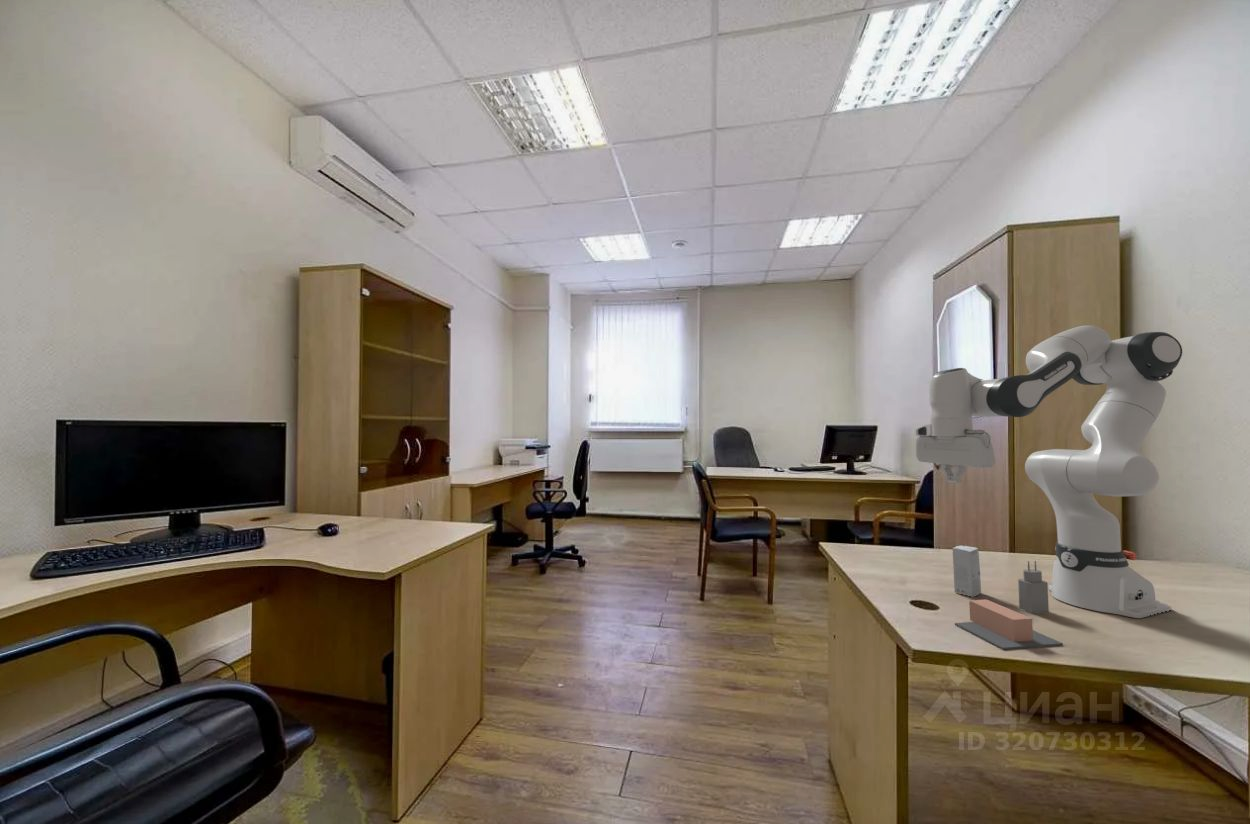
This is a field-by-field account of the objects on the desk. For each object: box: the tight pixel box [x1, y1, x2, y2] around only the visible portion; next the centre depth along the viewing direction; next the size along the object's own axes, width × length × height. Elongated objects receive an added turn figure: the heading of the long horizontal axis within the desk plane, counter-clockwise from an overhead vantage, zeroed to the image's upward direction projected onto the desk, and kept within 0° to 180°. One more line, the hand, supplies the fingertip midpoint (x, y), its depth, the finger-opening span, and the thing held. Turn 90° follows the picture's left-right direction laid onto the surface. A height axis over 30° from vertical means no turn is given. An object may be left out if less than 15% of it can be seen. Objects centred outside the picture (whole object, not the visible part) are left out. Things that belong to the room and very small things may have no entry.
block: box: [968, 599, 1034, 642], centre depth 94 cm, size 4×4×10 cm
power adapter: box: [1017, 560, 1050, 614], centre depth 105 cm, size 3×5×12 cm, turn 96°
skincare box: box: [952, 545, 982, 598], centre depth 116 cm, size 6×4×12 cm
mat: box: [954, 621, 1064, 651], centre depth 93 cm, size 14×11×1 cm
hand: (953, 482), depth 112 cm, fingers closed
